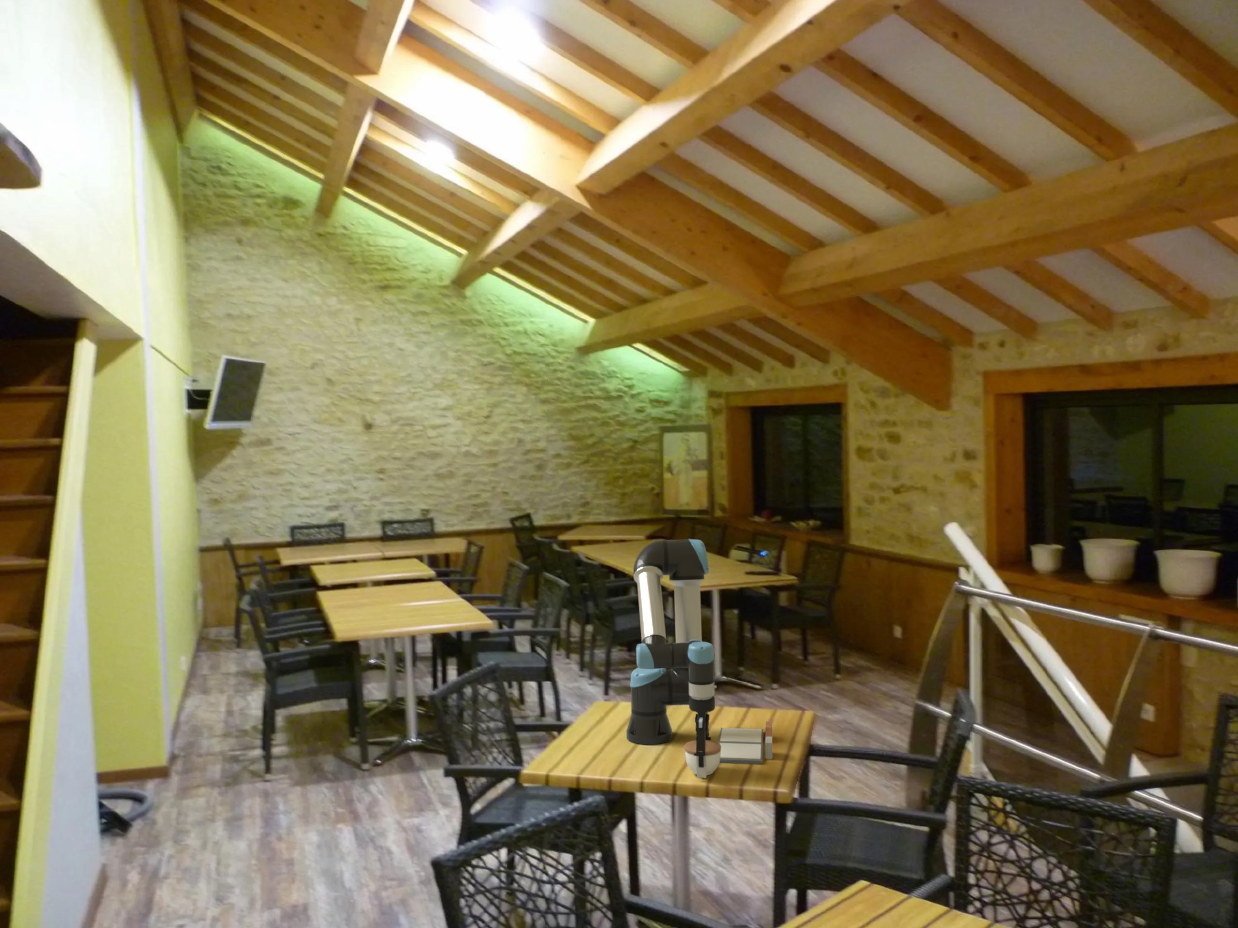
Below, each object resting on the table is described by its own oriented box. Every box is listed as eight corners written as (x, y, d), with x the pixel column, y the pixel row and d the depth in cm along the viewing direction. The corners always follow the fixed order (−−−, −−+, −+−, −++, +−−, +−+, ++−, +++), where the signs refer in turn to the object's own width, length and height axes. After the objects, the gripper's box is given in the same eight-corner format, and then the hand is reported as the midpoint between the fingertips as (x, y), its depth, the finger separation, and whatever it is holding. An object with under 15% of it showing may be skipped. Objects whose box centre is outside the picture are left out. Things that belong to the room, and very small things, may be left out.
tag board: (715, 762, 289) (715, 746, 289) (721, 730, 319) (720, 715, 319) (772, 764, 286) (772, 747, 286) (772, 732, 316) (772, 717, 316)
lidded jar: (679, 775, 277) (679, 744, 277) (691, 762, 287) (690, 732, 287) (715, 780, 273) (714, 748, 273) (725, 767, 283) (725, 736, 282)
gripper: (712, 708, 267) (713, 785, 268) (717, 684, 290) (718, 755, 291) (685, 707, 268) (686, 784, 269) (692, 684, 291) (693, 755, 292)
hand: (703, 769), depth 280 cm, fingers closed on lidded jar, 11 cm apart
